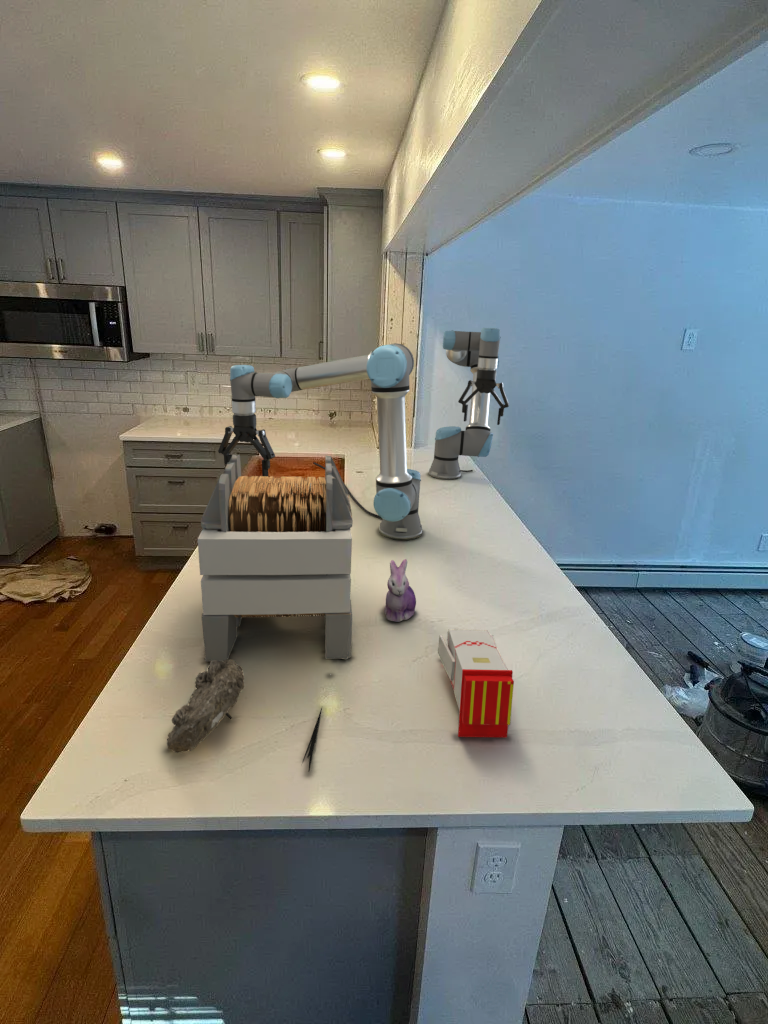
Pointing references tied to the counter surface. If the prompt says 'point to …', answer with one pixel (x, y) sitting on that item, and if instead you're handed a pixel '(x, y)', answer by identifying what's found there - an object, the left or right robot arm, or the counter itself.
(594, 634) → the counter surface
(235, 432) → the left robot arm
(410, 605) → the figurine
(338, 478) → the record crate
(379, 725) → the counter surface
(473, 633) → the toy
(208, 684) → the fossil
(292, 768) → the counter surface
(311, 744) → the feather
